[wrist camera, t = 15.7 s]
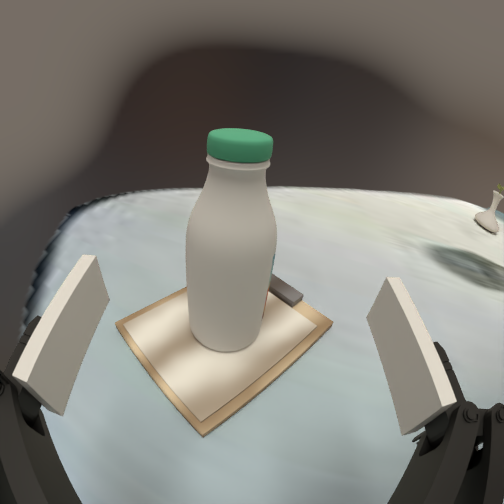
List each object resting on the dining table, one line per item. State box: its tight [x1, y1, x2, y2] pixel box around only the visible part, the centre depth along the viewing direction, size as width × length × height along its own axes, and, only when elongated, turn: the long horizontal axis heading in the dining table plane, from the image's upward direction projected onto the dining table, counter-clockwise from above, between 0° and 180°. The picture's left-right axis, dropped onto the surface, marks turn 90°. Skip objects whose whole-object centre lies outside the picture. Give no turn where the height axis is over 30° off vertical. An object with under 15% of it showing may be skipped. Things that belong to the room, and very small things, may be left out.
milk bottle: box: [186, 128, 277, 352], centre depth 24 cm, size 8×8×20 cm
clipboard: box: [115, 274, 333, 437], centre depth 30 cm, size 16×20×2 cm
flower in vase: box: [475, 184, 504, 233], centre depth 64 cm, size 13×11×25 cm
